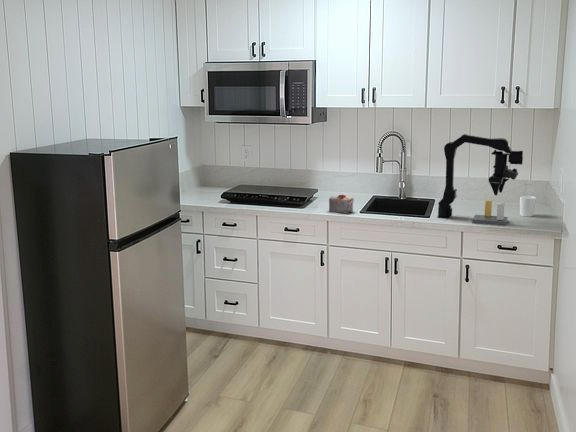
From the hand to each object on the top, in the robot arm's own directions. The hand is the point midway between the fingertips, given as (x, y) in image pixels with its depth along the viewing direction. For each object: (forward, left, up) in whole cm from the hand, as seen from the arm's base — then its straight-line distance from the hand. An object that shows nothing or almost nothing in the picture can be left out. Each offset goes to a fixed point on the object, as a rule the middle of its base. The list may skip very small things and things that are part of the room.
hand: (498, 193), depth 300 cm
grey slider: (+2, -7, -12) cm, 14 cm away
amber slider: (-4, -1, -12) cm, 12 cm away
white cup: (+14, +17, -14) cm, 26 cm away
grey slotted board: (-3, -4, -14) cm, 15 cm away
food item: (-82, -7, -14) cm, 84 cm away
